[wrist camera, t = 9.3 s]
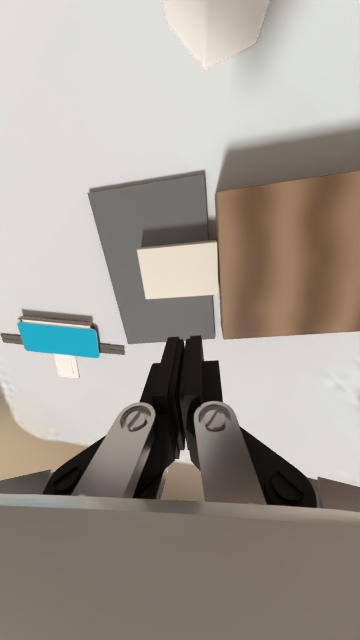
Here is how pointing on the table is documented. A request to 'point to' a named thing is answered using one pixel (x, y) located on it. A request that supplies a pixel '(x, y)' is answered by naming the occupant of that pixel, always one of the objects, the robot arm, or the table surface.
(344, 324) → the platform
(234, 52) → the jar
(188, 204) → the mat
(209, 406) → the robot arm
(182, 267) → the cream flat block
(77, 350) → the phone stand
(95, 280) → the table surface
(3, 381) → the table surface
